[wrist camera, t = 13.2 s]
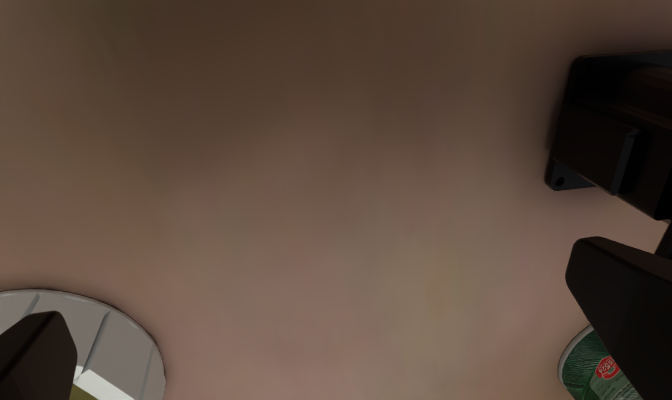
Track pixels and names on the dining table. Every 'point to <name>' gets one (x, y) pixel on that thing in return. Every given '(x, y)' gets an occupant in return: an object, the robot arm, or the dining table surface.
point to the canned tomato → (593, 371)
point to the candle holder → (97, 343)
